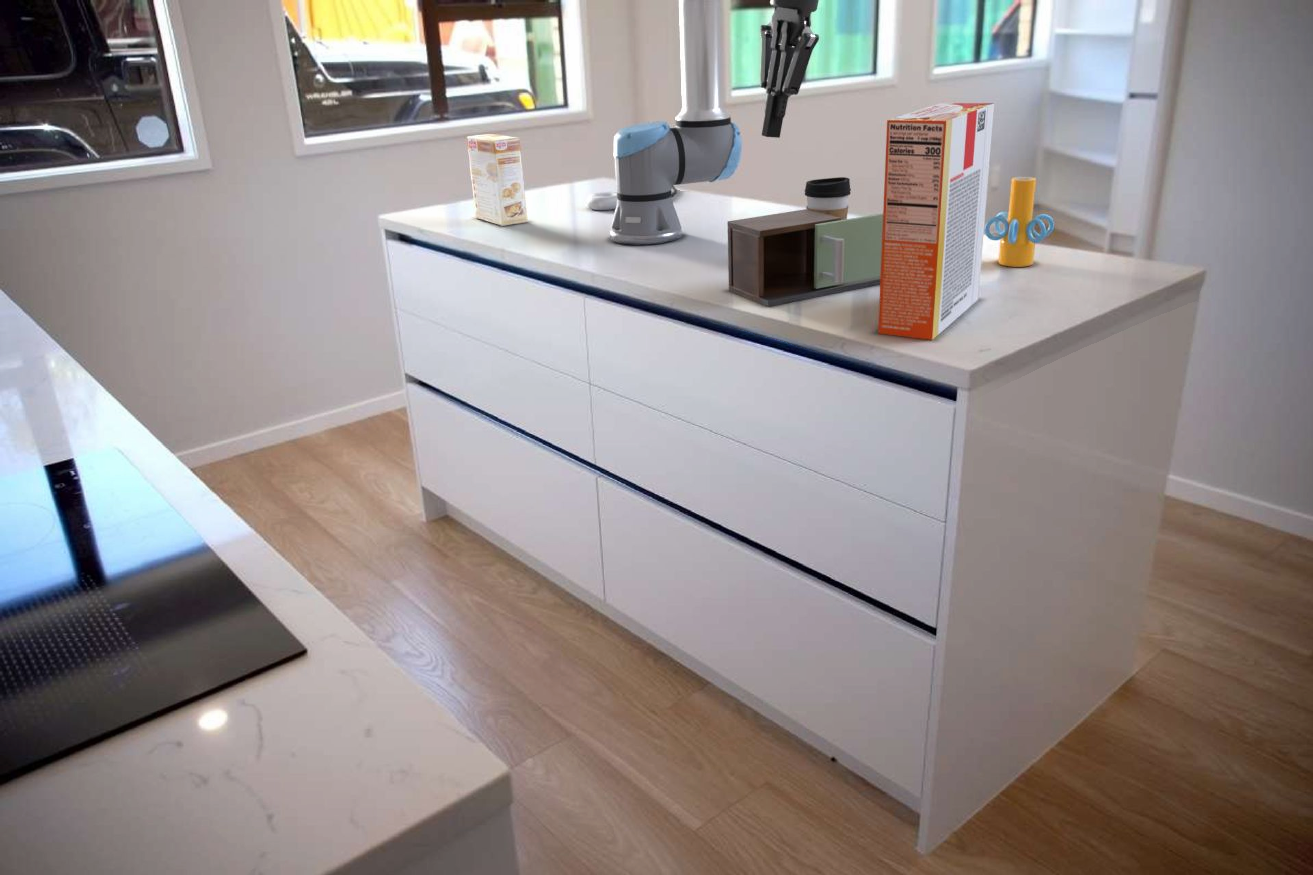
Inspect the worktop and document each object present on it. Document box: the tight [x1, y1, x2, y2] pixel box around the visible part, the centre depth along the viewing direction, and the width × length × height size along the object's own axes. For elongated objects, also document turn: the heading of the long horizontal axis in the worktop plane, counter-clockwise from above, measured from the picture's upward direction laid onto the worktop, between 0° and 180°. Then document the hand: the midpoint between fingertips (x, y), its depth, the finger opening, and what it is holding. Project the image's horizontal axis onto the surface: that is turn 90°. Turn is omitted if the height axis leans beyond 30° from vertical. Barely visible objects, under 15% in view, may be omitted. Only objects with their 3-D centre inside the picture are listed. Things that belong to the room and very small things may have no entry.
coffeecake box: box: [466, 133, 529, 227], centre depth 237 cm, size 15×7×20 cm, turn 34°
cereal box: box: [877, 102, 995, 341], centre depth 147 cm, size 23×8×30 cm, turn 148°
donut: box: [586, 191, 617, 211], centre depth 249 cm, size 10×3×10 cm
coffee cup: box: [804, 176, 852, 220], centre depth 186 cm, size 8×8×15 cm
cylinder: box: [984, 176, 1055, 268], centre depth 177 cm, size 12×10×15 cm
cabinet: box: [727, 208, 881, 308], centre depth 170 cm, size 12×27×12 cm, turn 118°
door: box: [814, 213, 883, 289], centre depth 165 cm, size 6×16×11 cm, turn 118°
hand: (770, 136), depth 166 cm, fingers closed
